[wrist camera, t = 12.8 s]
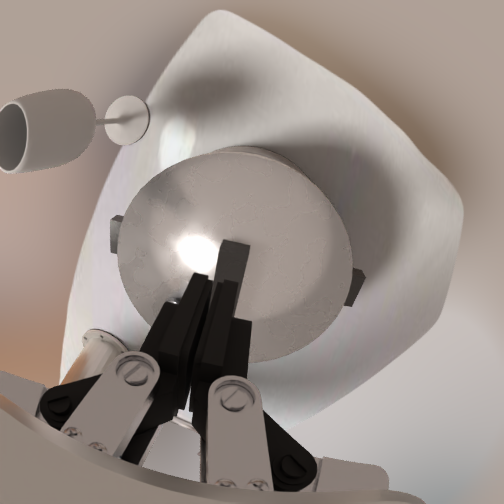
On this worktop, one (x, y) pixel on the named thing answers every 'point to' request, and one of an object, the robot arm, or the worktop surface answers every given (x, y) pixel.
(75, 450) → the robot arm
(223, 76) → the worktop surface
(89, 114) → the wineglass
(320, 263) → the lid
